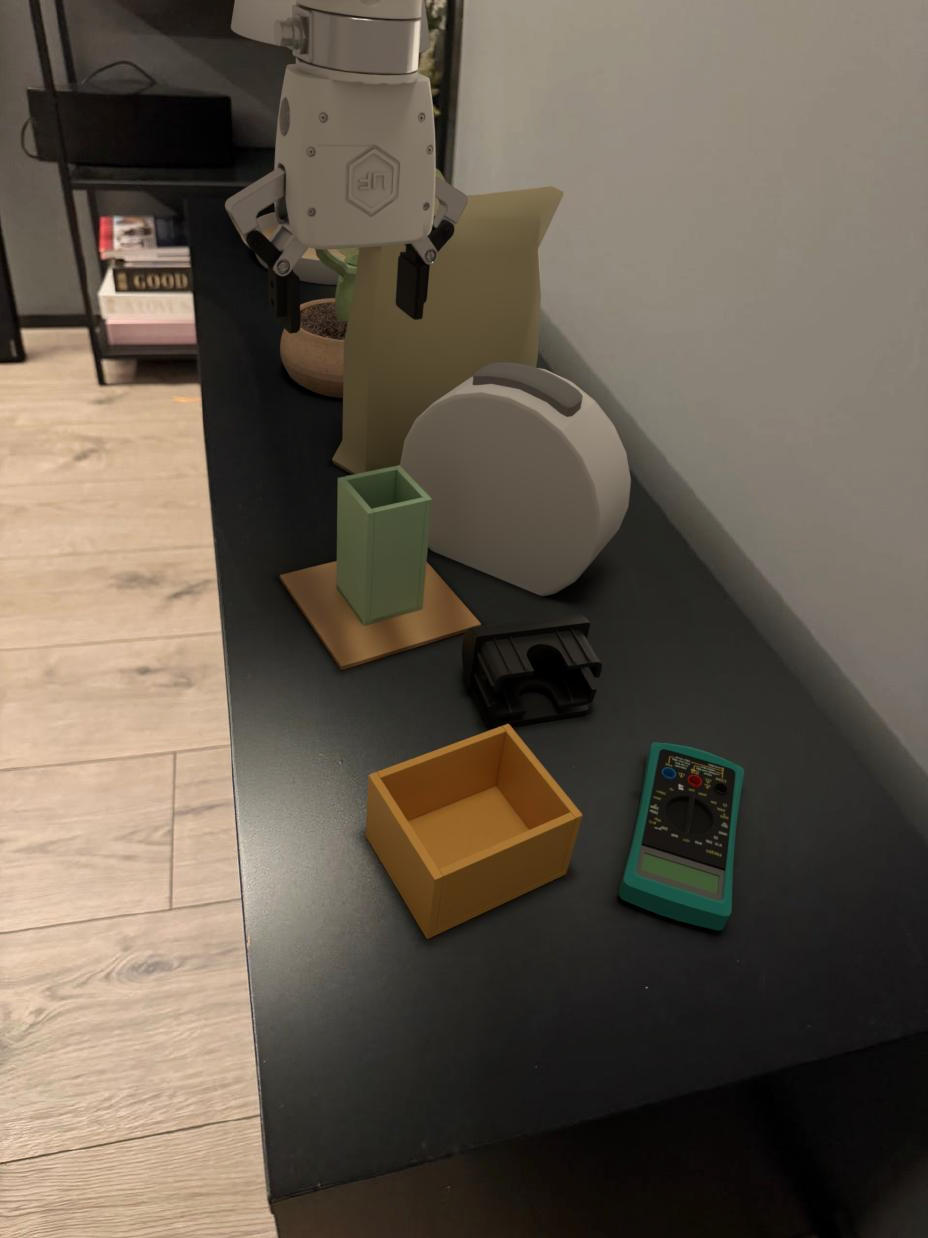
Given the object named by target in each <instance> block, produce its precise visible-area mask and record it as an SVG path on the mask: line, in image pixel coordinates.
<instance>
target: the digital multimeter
mask: <svg viewBox="0 0 928 1238" xmlns="http://www.w3.org/2000/svg"><path fill="white" fill-rule="evenodd" d="M744 776H745V770H744V768H743V767H742V766H740V765H739V764H736V763H734V762H732V761H731V760H727V759H725V758H723V757H722V756H718V755H716V754H713V753H711V752H708V751H705V750H702V749H699V748H695V747H693V746H688V745H682V744H676V743H667V742H659V741H654V742H652V743H651V744H650V747H649V750H648V753H647V757H646V760H645V766H644V774H643V781H642V788H641V795H640V800H639V805H638V811H637V813H638V814H637V817H636V822H635V826H634V830H633V835H632V840H631V843H630V848H629V851H628V855H627V860H626V863H625V866H624V871H623V874H622V878H621V882H620V886H619V890H618V896H619V897H620V899H621V900H623V901H624V902H627V903H628V904H631V905H634V906H637V907H639V908H642V909H644V910H647V911H649V912H652V913H654V914H657V915H659V916H663V917H666V918H669V919H672V920H674V921H678V922H682V923H686V924H689V925H692V926H693V925H694V926H696V927H702V928H706V929H711V930H713V931H722V930H724V928H725V926H726V924H727V922H728V920H729V919H730V917H731V914H732V910H733V883H734V882H733V877H734V858H735V846H736V845H735V844H736V834H737V833H736V831H737V830H736V829H737V825H738V824H737V823H738V816H739V808H740V802H741V794H742V790H743V789H742V788H743V782H744Z"/></svg>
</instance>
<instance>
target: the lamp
mask: <svg viewBox="0 0 928 1238" xmlns="http://www.w3.org/2000/svg"><path fill="white" fill-rule="evenodd" d="M425 1H426V0H422V11H421V30H420V45H419V54H420V53H423V52H426V51H428V50H430V49H431V39H430V32H429V31H430V30H429V25H428V23H429V22H428V15H427V8H426V2H425ZM295 4H296V0H234V4H233V11H232V17H231V24H230V30H231V31H232V32H234V33H235V34H237V35H239V36H241V37H243V38H247V39H250V40H253V41H257V42H261V43H265V44H269V45H274V46H277V45H276V43H275V39H274V33H273V32H274V22H275V20H286V19H287V18H289V17H292V5H295ZM282 47H284V48H288V47H287V46H282ZM256 220H257V223H258V225H259V228H260V230H261V232H262V233H263V235H264V236H265V237H266V238H267V239H269V238H270V237H271V235H272V234H273V232H274V231H275V230H276V228H277V227H278V225H279V223H278V222H277V219H276V215H275V211H273V212H270V213H267V214H263V215H261V216H259V217H256ZM327 250H329V251H330V252H331V253H333V254H335V255H337V256H339V257H340V258H341V259H342V260H343V261H344V259H345V257H346V256H344V255H343V254H341V253H340V252H339V251H337V250H336V249H327ZM254 254H255V257H256V259H257V260H258V262H259V264H260V265H262V266H263V268H265V269H267V270H268V265H267V264H266V263H265V262H264V261H263V260H262V259H261V258H260V257H259V256H258V255H257V254H256V253H255V252H254ZM293 272H294V273H295V274H296V275H298V276H299V279H300V282H305V283H311V284H318V285H326V286H327V285H328V286H337V282H338V277H339V274H338V273H337V272H336V271H334V270H332V269H330V268H328V267H327V266H326V265H324V264H323V263H322V262H321V261H320V259H319V258H318V257H317V255H316V251H315V249H314V248H310V247H309V248H308V249H307V250H306V252H305V253H304V254H303V256H302V257H301V258H300V260H299V261H298V263H297V264H296V265H295V267H294V268H293Z"/></svg>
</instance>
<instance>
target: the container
mask: <svg viewBox="0 0 928 1238" xmlns="http://www.w3.org/2000/svg"><path fill="white" fill-rule="evenodd" d="M466 196H467V198H468V202H467V205H466V207H465V209H464V211H463V213H462V215H461V217H460V219H459V220H458V222H457V223H456V224H455V226H454V234H453V236H452V237H451V238H450V239H449V240H448V241H447V243H446V244H445V245H444V246H443V247H442V248H441V249H440V250H439V252H438V258H437V260H436V262H435V263H433V264H431V265H430V269H429V281H428V293H427V300H426V302H425V303H424V307H423V317H422V319H419V320H414V319H413V318H411V317H410V316H408V315H407V314H406V313H405V312H403V311H402V310H401V309H400V308H398V307H397V306H396V286H397V270H398V257H399V256H400V252H405V250H406V247H405V246H404V244H402V245H390V246H376V247H361V248H359V255H358V262H357V269H356V277H355V284H354V289H353V295H352V301H351V307H350V312H349V318H348V324H347V329H346V335H345V341H344V373H343V398H342V439H341V442H340V444H339V446H338V448H337V449H336V451H335V453H334V455H333V457H332V459H331V461H332V464H333V465H335V466H336V467H338V468H340V469H342V470H343V471H345V472H347V473H348V474H350V475H354V474H359V473H364V472H369V471H374V470H379V469H383V468H388V467H394V466H398V465H400V462H401V457H402V451H403V446H404V441H405V439H406V437H407V435H408V433H409V431H410V429H411V427H412V426H413V424H414V422H415V420H416V419H417V418H418V417H419V416H420V415H421V414H422V413H423V412H424V411H425V410H426V409H427V408H428V407H429V406H431V405H432V404H433V403H434V402H435V401H437V400H438V399H440V398H441V397H443V396H444V395H446V394H447V393H449V392H450V391H451V390H453V389H454V388H456V387H457V386H459V385H460V384H462V383H463V382H465V381H466V380H468V379H469V378H471V377H473V376H474V373H476V372H477V371H479V370H480V369H482V368H483V367H485V366H486V365H489V364H492V363H503V362H507V363H516V364H523V365H527V366H531V367H535V368H537V365H538V357H539V342H540V341H539V338H540V321H541V320H540V319H541V299H542V288H541V287H542V286H541V285H542V284H541V282H542V281H541V257H540V255H541V254H540V252H541V251H540V246H541V244H542V241H543V240H544V238H545V236H546V234H547V231H548V229H549V227H550V225H551V223H552V220H553V218H554V216H555V214H556V212H557V210H558V207H559V205H560V203H561V202H562V199H563V197H564V191H563V190H561V189H560V188H559V189H558V188H557V187H554V186H552V185H550V186H549V185H548V186H540V187H532V188H531V187H530V188H523V189H513V190H505V191H495V192H487V193H478V194H469V195H468V194H467V195H466ZM438 208H439V200H438V199H437V198H436V197H435V206H434V216H436V214H437V210H438Z"/></svg>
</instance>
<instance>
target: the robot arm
mask: <svg viewBox="0 0 928 1238" xmlns="http://www.w3.org/2000/svg"><path fill="white" fill-rule="evenodd" d="M421 11H422V0H296V4H295V5H292V17H289V18H287V19H286V20H275V22H274V32H273V33H274V39H275V43H276V45H275V46H277V47H283V46H287V47H286V48H288V49H289V50H292V51H291V52H292V56H294V57H295V63H290V64H287V65H286V68H285V73H284V77H283V83H282V88H281V92H280V93H281V94H280V100H279V106H278V114H277V115H278V116H277V124H276V135H275V149H274V150H275V151H274V167H273V168H274V169H273V170H272V171H271V172H269V173H267V174H266V175H264V176H262V177H261V178H259V179H257V180H256V181H254V182H253V183H251V184H249V185H248V186H246V187H245V188H243V189H242V190H240V191H238V192H236V193H235V194H233V195H232V196H230V197H228V198H227V199H226V201H225V203H224V208H225V211H226V212H227V214H228V216H229V219H230V220H231V222H232V223H233V225H234V227H235V229H236V231H237V233H238V234H239V236H240V239H241V241H242V242H243V243H244V244H245V245H246V246H247V247H248V248H249V249H250V250H251V251H252V252H253V253H254V254H255V253H256V254H257V255H258V256H259V257H260V258H261V259H262V260H263V261H264V262H265V263H266V264H267V265H268V269H267V293H268V294H267V297H268V310H269V313H270V315H271V316H272V317H273V318H274V319H275V321H277V322H278V324H279V325H280V326H281V327H282V328H283V329H284V328H285V329H286V331H287V332H288V333H290V334H291V333H297V332H298V331H299V330H300V305H301V281H300V279H299V276H298V275H296V274H295V273H294V272H293V268H294V267H295V265H296V264H297V263H298V261H299V260H300V258H301V257H302V256H303V254H304V253H305V252H306V250H307V249H308V248H309V247H310V248H314V249H345V248H361V247H376V246H390V245H402V244H404V246H405V247H406V250H405V252H400V256H399V257H398V270H397V286H396V306H397V307H398V308H400V309H401V310H402V311H403V312H405V313H406V314H407V315H408V316H410V317H411V318H413V319H414V320H419V319H422V317H423V307H424V303H425V302H426V300H427V293H428V281H429V269H430V265H431V264H433V263H435V262H436V260H437V258H438V252H439V250H440V249H441V248H442V247H443V246H444V245H445V244H446V243H447V241H448V240H449V239H450V238H451V237H452V236H453V234H454V226H455V224H456V223H457V222H458V220H459V219H460V217H461V215H462V213H463V211H464V209H465V207H466V205H467V202H468V198H467V195H466V193H464V192H462V191H461V190H460V189H458V188H456V187H455V186H453V185H451V184H450V183H448V182H447V181H446V180H445V181H446V182H445V181H444V180H442V179H441V178H439V177H437V176H436V175H435V168H436V158H437V157H436V129H435V127H436V126H435V116H434V104H433V96H432V88H431V87H432V86H431V81H430V80H431V79H430V77H428V76H426V75H423V74H420V73H418V72H419V60H420V59H419V58H420V57H419V56H420V53H419V45H420V30H421ZM435 197H436V198H437V199H438V200H439V208H438V210H437V214H436V216H434V206H435ZM273 204H274V212H275V215H276V219H277V222H278V223H279V225H278V227H277V228H276V230H275V231H274V232H273V234H272V235H271V237H270V238H269V239H267V238H266V237H265V236H264V235H263V233H262V232H261V230H260V228H259V225H258V223H257V220H256V219H257V218H258V217H257V216H258V215H259V213H260V212H262V211H263V210H264V209H266V208H268V207H270V206H271V205H273ZM256 254H255V255H256Z"/></svg>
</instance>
